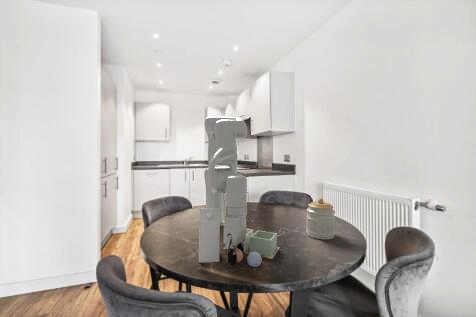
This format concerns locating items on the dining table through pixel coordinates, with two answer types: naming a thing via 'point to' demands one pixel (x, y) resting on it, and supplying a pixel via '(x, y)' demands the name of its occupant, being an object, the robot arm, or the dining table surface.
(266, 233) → the sage cup
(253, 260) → the slate ball
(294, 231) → the dining table surface
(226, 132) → the robot arm
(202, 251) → the milk carton
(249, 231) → the cream cup
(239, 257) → the coral ball
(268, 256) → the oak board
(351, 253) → the dining table surface
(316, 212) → the jar
